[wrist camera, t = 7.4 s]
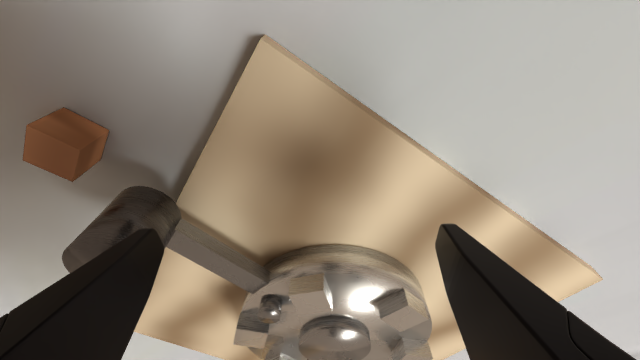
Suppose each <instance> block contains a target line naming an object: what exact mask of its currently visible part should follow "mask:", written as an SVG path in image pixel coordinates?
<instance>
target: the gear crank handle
mask: <svg viewBox="0 0 640 360" xmlns="http://www.w3.org/2000/svg"><path fill="white" fill-rule="evenodd" d="M141 228H154V229H156V230H157V232H158V234H159V236H160V238H161V240H162V242H163V244H164V250H165V248H166V247H167V248H169V249H171V250H172V251H174V252H176V253H178V254H180V255H182V256H183V257H185V258H187V259H189V260H191V261H193V262H195V263H196V264H198V265H200V266H202V267H204V268H206V269H207V270H209V271H211V272H213V273H215V274H217V275H218V276H220V277H222V278H224V279H226V280H228V281H229V282H231V283H233V284H235V285H237V286H239V287H240V288H242V289H244V290H246V295H245V299H244V302H243V306H242V310H241V312H240V316H239V319H238V323H237V327H236V332H235V337H234V343H233V345H240V346H247V347H248V348H249V349H250V350H251V351H252V352H253V353H254V354H255V355H257V356H258V357H260V358H261V359H263V360H432V359H433V357H432V353H431V350H430V346H429V343H428V342H427V341H428V339H429V337H430V335H431V331H432V321H431V316H430V313H429V310H428V307H427V304H426V300H425V297H424V294H423V291H422V288H421V285H420V283H419V281H418V279H417V278H416V276H415V275H414V274H413V272H412V271H411V270H409V269H408V268H407V267H406V266H405V265H404V264H402V263H401V262H399V261H398V260H396V259H394V258H392V257H390V256H388V255H386V254H383V253H380V252H378V251H375V250H371V249H367V248H363V247H356V246H349V245H321V246H313V247H307V248H302V249H298V250H294V251H292V252H289V253H286V254H283V255H281V256H279V257H277V258H275V259H273V260H271V261H270V262H268V263H267V264H265V265H264V266H263V267H262V266H260V265H259V264H257V263H255V262H254V261H252V260H250V259H249V258H247V257H245V256H244V255H242V254H240V253H239V252H237V251H235V250H234V249H232V248H230V247H229V246H227V245H225V244H224V243H222V242H220V241H219V240H217V239H215V238H214V237H212V236H210V235H209V234H207V233H205V232H204V231H202V230H200V229H199V228H197V227H195V226H194V225H192V224H190V223H189V222H187V221H185V220H184V219H182V217H181V212H180V209H179V207H178V206H177V204H176V203H175V202H174V201H173V200H172V199H171V198H170V197H169V196H167V195H166V194H164V193H162V192H160V191H158V190H156V189H153V188H149V187H144V186H134V187H129V188H127V189H125V190H123V191H122V192H121V193H120V194H119V195H118V196H117V197H116V198H115V199H114V200H113V201H112V202H111V203H110V204H109V205H108V206H107V207H106V208H105V209H104V210H103V211H102V212H101V213H100V215H99V216H98V217H97V218H96V219H95V220H94V221H93V222H92V223H91V224H90V225H89V226H88V227H87V228H86V229H85V230H84V231H83V232H82V233H81V234H80V235H79V236H78V237H77V238H76V239H75V240H74V241H73V242H72V243H71V244H70V245H69V246H68V247H67V248H66V249H65V251H64V252H63V255H62V260H63V263H64V266H65V267H66V269H67V270H68V271H69V272H70V273H71V272H73V271H75V270H76V269H78V268H79V267H81V266H82V265H84V264H86V263H87V262H89V261H90V260H92V259H93V258H95V257H97V256H98V255H100V254H101V253H103V252H104V251H106V250H108V249H109V248H111V247H112V246H114V245H115V244H117V243H118V242H120V241H122V240H123V239H125V238H126V237H128V236H129V235H131V234H133V233H134V232H136V231H137V230H139V229H141Z"/></svg>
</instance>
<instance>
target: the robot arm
mask: <svg viewBox="0 0 640 360" xmlns="http://www.w3.org/2000/svg"><path fill="white" fill-rule="evenodd" d="M435 249H436V254H437V258H438V262H439V266H440V270H441V274H442V278H443V282H444V287H445V290H446V294H447V297H448V300H449V303H450V306H451V309H452V311H453V314H454V317H455V320H456V322H457V325H458V328H459V330H460V333H461V336H462V339H463V341H464V344H465V347H466V349H467V352H468V355H469V358H470V360H636V359H635V358H633V357H632V356H630V355H629V354H628V353H626V352H625V351H623V350H622V349H620V348H619V347H617V346H616V345H615V344H613V343H612V342H610V341H609V340H608V339H606V338H605V337H604V336H602V335H601V334H600V333H598V332H597V331H595V330H594V329H593V328H591V327H590V326H589V325H587V324H586V323H585V322H583V321H582V320H581V319H579V318H578V317H577V316H575V315H574V314H573V313H572V312H570V311H567V309H566V308H565V307H564V306H562V305H561V304H560V303H558V302H557V301H556V300H554V299H553V298H552V297H550V296H549V295H548V294H547V293H545V292H544V291H543V290H541V289H540V288H539V287H537V286H536V285H535V284H533V283H532V282H531V281H530V280H528V279H527V278H526V277H524V276H523V275H522V274H520V273H519V272H518V271H516V270H515V269H514V268H513V267H511V266H510V265H509V264H507V263H506V262H505V261H503V260H502V259H501V258H499V257H498V256H497V255H496V254H494V253H493V252H492V251H490V250H489V249H488V248H486V247H485V246H484V245H482V244H481V243H480V242H479V241H477V240H476V239H475V238H473V237H472V236H471V235H469V234H468V233H467V232H465V231H464V230H463V229H462V228H460V227H459V226H458V225H456V224H453V223H445V224H441V225H440V227H439V230H438V234H437V238H436V242H435ZM163 255H164V244H163V242H162V240H161V238H160V236H159V234H158V232H157V230H156V229H154V228H141V229H139V230H137V231H136V232H134V233H133V234H131V235H129V236H128V237H126V238H125V239H123V240H122V241H120V242H118V243H117V244H115V245H114V246H112V247H111V248H109V249H108V250H106V251H104V252H103V253H101V254H100V255H98V256H97V257H95V258H93V259H92V260H90V261H89V262H87V263H86V264H84V265H82V266H81V267H79V268H78V269H76V270H75V271H73V272H71V273H70V274H68V275H67V276H65V277H64V278H62V279H60V280H59V281H57V282H56V283H54V284H53V285H51V286H49V287H48V288H46V289H45V290H43V291H42V292H40V293H38V294H37V295H35V296H34V297H32V298H31V299H29V300H27V301H26V302H24V303H23V304H21V305H20V306H18V307H16V308H15V309H13V310H12V311H10V313H9V314H5V315H4V316H2V317H1V318H0V360H121V358H122V356H123V354H124V352H125V350H126V347H127V345H128V343H129V341H130V339H131V336H132V334H133V332H134V330H135V328H136V325H137V323H138V321H139V319H140V317H141V314H142V312H143V310H144V308H145V306H146V303H147V301H148V299H149V296H150V293H151V291H152V288H153V285H154V282H155V279H156V276H157V273H158V270H159V267H160V264H161V261H162V258H163Z"/></svg>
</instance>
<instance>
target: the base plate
mask: <svg viewBox="0 0 640 360" xmlns="http://www.w3.org/2000/svg"><path fill="white" fill-rule="evenodd" d="M108 133H109V130H108V129H106V128H104V127H102V126H100V125H98V124H96V123H94V122H92V121H90V120H88V119H86V118H84V117H82V116H80V115H78V114H76V113H74V112H72V111H70V110H68V109H66V108H61V109H59V110H57V111H55V112H53V113H51V114H49V115H47V116H45V117H43V118H40V119H38V120H36V121H34V122H32V123H30V124H28V125H27V126H26V135H25V144H24V153H23V161H26V162H28V163H30V164H33V165H35V166H37V167H39V168H42V169H44V170H46V171H49V172H51V173H53V174H56V175H58V176H60V177H62V178H65V179H67V180H69V181H72V182H73V181H74V180H76V179H77V178H78V177H79V176H81V175H82V174H83V173H84V172H86V171H87V170H88V169H90V168H91V167H92V166H93V165H95V164H96V163H97V162H98V161H100V160H101V157H102V153H103V150H104V146H105V143H106V140H107V136H108ZM176 204H177V206H178V207H179V209H180V212H181V217H182V219H184V220H185V221H187V222H189V223H190V224H192V225H194V226H195V227H197V228H199V229H200V230H202V231H204V232H205V233H207V234H209V235H210V236H212V237H214V238H215V239H217V240H219V241H220V242H222V243H224V244H225V245H227V246H229V247H230V248H232V249H234V250H235V251H237V252H239V253H240V254H242V255H244V256H245V257H247V258H249V259H250V260H252V261H254V262H255V263H257V264H259V265H260V266H262V267H263V266H264V265H265V264H267V263H268V262H270V261H271V260H273V259H275V258H277V257H279V256H281V255H283V254H286V253H289V252H292V251H294V250H298V249H302V248H307V247H313V246H321V245H349V246H356V247H363V248H367V249H371V250H375V251H378V252H380V253H383V254H386V255H388V256H390V257H392V258H394V259H396V260H398V261H399V262H401V263H402V264H404V265H405V266H406V267H407V268H408V269H409V270H411V271H412V272H413V274H414V275H415V276H416V278H417V279H418V281H419V283H420V285H421V288H422V291H423V294H424V297H425V300H426V304H427V307H428V310H429V313H430V316H431V321H432V331H431V335H430V337H429V339H428V341H427V342H428V343H429V346H430V350H431V353H432V357H433V359H432V360H443V359H445V358H447V357H449V356H451V355H453V354H455V353H457V352H459V351H461V350H463V349H465V348H466V347H465V344H464V341H463V339H462V336H461V333H460V330H459V328H458V325H457V322H456V320H455V317H454V314H453V311H452V309H451V306H450V303H449V300H448V297H447V294H446V290H445V287H444V282H443V278H442V274H441V270H440V266H439V262H438V258H437V254H436V249H435V242H436V238H437V234H438V230H439V227H440V225H441V224H445V223H453V224H456V225H458V226H459V227H460V228H462V229H463V230H464V231H465V232H467V233H468V234H469V235H471V236H472V237H473V238H475V239H476V240H477V241H479V242H480V243H481V244H482V245H484V246H485V247H486V248H488V249H489V250H490V251H492V252H493V253H494V254H496V255H497V256H498V257H499V258H501V259H502V260H503V261H505V262H506V263H507V264H509V265H510V266H511V267H513V268H514V269H515V270H516V271H518V272H519V273H520V274H522V275H523V276H524V277H526V278H527V279H528V280H530V281H531V282H532V283H533V284H535V285H536V286H537V287H539V288H540V289H541V290H543V291H544V292H545V293H547V294H548V295H549V296H550V297H552V298H553V299H554V300H556V301H557V302H559V301H561V300H563V299H565V298H567V297H569V296H571V295H573V294H575V293H577V292H579V291H581V290H583V289H585V288H587V287H589V286H591V285H593V284H595V283H597V282H599V281H601V280H603V279H602V277H601V276H600V275H599V274H598V273H597V272H596V271H595V270H594V269H593V268H592V267H591V266H590V265H589V264H587V263H586V262H584V261H583V260H582V259H580V258H579V257H577V256H576V255H574V254H573V253H572V252H570V251H569V250H567V249H566V248H565V247H563V246H562V245H560V244H559V243H558V242H556V241H555V240H553V239H552V238H551V237H549V236H548V235H546V234H545V233H544V232H542V231H541V230H539V229H538V228H537V227H535V226H534V225H532V224H531V223H530V222H528V221H527V220H525V219H524V218H522V217H521V216H520V215H518V214H517V213H515V212H514V211H513V210H511V209H510V208H508V207H507V206H506V205H504V204H503V203H501V202H500V201H499V200H497V199H496V198H494V197H493V196H492V195H490V194H489V193H487V192H486V191H485V190H483V189H482V188H480V187H479V186H478V185H476V184H475V183H473V182H472V181H470V180H469V179H468V178H466V177H465V176H463V175H462V174H461V173H459V172H458V171H456V170H455V169H454V168H452V167H451V166H449V165H448V164H447V163H445V162H444V161H442V160H441V159H440V158H438V157H437V156H435V155H434V154H433V153H431V152H430V151H428V150H427V149H426V148H424V147H423V146H421V145H420V144H418V143H417V142H416V141H414V140H413V139H411V138H410V137H409V136H407V135H406V134H404V133H403V132H402V131H400V130H399V129H397V128H396V127H395V126H393V125H392V124H390V123H389V122H388V121H386V120H385V119H383V118H382V117H381V116H379V115H378V114H376V113H375V112H374V111H372V110H371V109H369V108H368V107H366V106H365V105H364V104H362V103H361V102H359V101H358V100H357V99H355V98H354V97H352V96H351V95H350V94H348V93H347V92H345V91H344V90H343V89H341V88H340V87H338V86H337V85H336V84H334V83H333V82H331V81H330V80H329V79H327V78H326V77H324V76H323V75H322V74H320V73H319V72H317V71H316V70H314V69H313V68H312V67H310V66H309V65H307V64H306V63H305V62H303V61H302V60H300V59H299V58H298V57H296V56H295V55H293V54H292V53H291V52H289V51H288V50H286V49H285V48H284V47H282V46H281V45H279V44H278V43H277V42H275V41H274V40H272V39H271V38H270V37H268V36H267V35H264V36H263V37H262V38H261V39H260V41H259V42H258V44H257V46H256V48H255V50H254V52H253V54H252V56H251V58H250V60H249V62H248V64H247V66H246V68H245V70H244V72H243V74H242V75H241V77H240V79H239V81H238V83H237V85H236V87H235V89H234V91H233V93H232V95H231V97H230V99H229V101H228V103H227V105H226V107H225V108H224V110H223V112H222V114H221V116H220V118H219V120H218V122H217V124H216V126H215V128H214V130H213V132H212V134H211V136H210V138H209V140H208V141H207V143H206V145H205V147H204V149H203V151H202V153H201V155H200V157H199V159H198V161H197V163H196V165H195V167H194V169H193V171H192V173H191V174H190V176H189V178H188V180H187V182H186V184H185V186H184V188H183V190H182V192H181V194H180V196H179V198H178V200H177V202H176ZM245 295H246V290H244V289H242V288H240V287H239V286H237V285H235V284H233V283H231V282H229V281H228V280H226V279H224V278H222V277H220V276H218V275H217V274H215V273H213V272H211V271H209V270H207V269H206V268H204V267H202V266H200V265H198V264H196V263H195V262H193V261H191V260H189V259H187V258H185V257H183V256H182V255H180V254H178V253H176V252H174V251H172V250H171V249H169V248H167V247H166V248H165V250H164V255H163V258H162V261H161V264H160V267H159V270H158V273H157V276H156V279H155V282H154V285H153V288H152V291H151V293H150V296H149V299H148V301H147V303H146V306H145V308H144V310H143V312H142V314H141V317H140V319H139V321H138V323H137V325H136V328H135V330H134V332H137V333H140V334H144V335H147V336H150V337H153V338H157V339H160V340H163V341H166V342H170V343H173V344H176V345H179V346H183V347H186V348H189V349H192V350H196V351H199V352H202V353H205V354H209V355H212V356H215V357H218V358H222V359H225V360H263V359H261V358H260V357H258V356H257V355H255V354H254V353H253V352H252V351H251V350H250V349H249V348H248V347H247V346H240V345H233V343H234V337H235V332H236V327H237V323H238V319H239V316H240V312H241V310H242V306H243V302H244V299H245Z"/></svg>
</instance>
